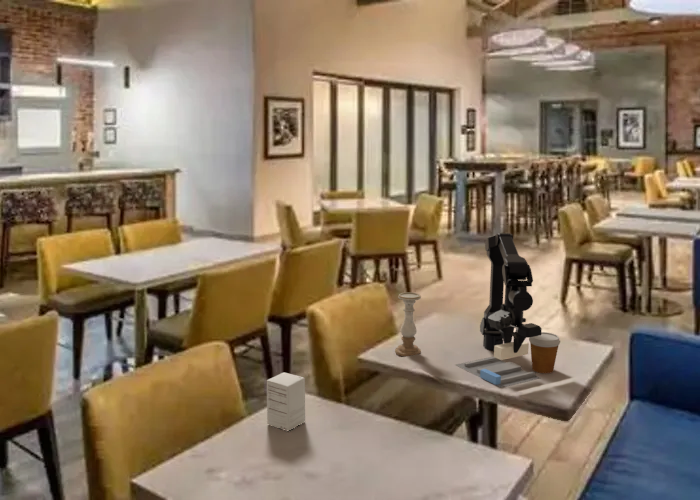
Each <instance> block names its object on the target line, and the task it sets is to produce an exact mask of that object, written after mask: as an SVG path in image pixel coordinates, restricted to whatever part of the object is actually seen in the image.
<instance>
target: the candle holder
mask: <svg viewBox="0 0 700 500" xmlns="http://www.w3.org/2000/svg"><path fill="white" fill-rule="evenodd" d="M421 297H422V296H421V294H420V293H416V292H407V291H406V292H401V293H399V294H398V296H397V298H398V299H399V300H402V302H403V304H404V308H403V312H404V320H403V322H402V324H401V327H400V333H401V335H402V336H401V337H400V338H401V341H402V344H400V345H398V346H397V347H395V349H394V353H395V354H396V355H397V356H400V357H410V356H416V355H421V353H422V350H421V348H419V346H417V345H416V344H414V342H415V340H416V337H415V335H416V334H417V331H418V330H417V326H416V325H415V322H414V312H415V311H416V310H415V308H414V304H415V303H416V301H418V300H421Z"/></svg>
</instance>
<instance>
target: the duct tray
mask: <svg viewBox="0 0 700 500" xmlns="http://www.w3.org/2000/svg"><path fill="white" fill-rule="evenodd" d="M455 366H456V367H458V368H459V369H463V370H464V371H466V372H469V373H470V374H472V375H474V376H477V377H478V378H480V379H482V380H484V381H486V382H488V383H491V384H493V385H495V386H496V387H499V388H501V389H503V388H506V387H511V386H515V385H519V384H522V383H526V382H531V381H535V380H540V379H541V377H540V376H537V375H536V372H535V371H529V372H528V371H526V370H523V369H522V365H520V364H518V363H515V362H513V361H507V362H506V361H504V360H499V359H497V358H495V357H494V356H490V357H486V358H480V359H476V360H470V361H467V362H466V361H465V362H461V363H457V364H455Z"/></svg>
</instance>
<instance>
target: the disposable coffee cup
mask: <svg viewBox="0 0 700 500" xmlns="http://www.w3.org/2000/svg"><path fill="white" fill-rule="evenodd" d="M528 340H529V346H530V354H531V356H530V357H531V369H532V372H535V373H540V374H551V373H553V372H554V368H555V364H556V359H557V355H558V350H559V345H560V343H561V340H560V337H559V335H557V334H554V333H553V332H545V331H541V335H539V336H534V337H529V338H528Z"/></svg>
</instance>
